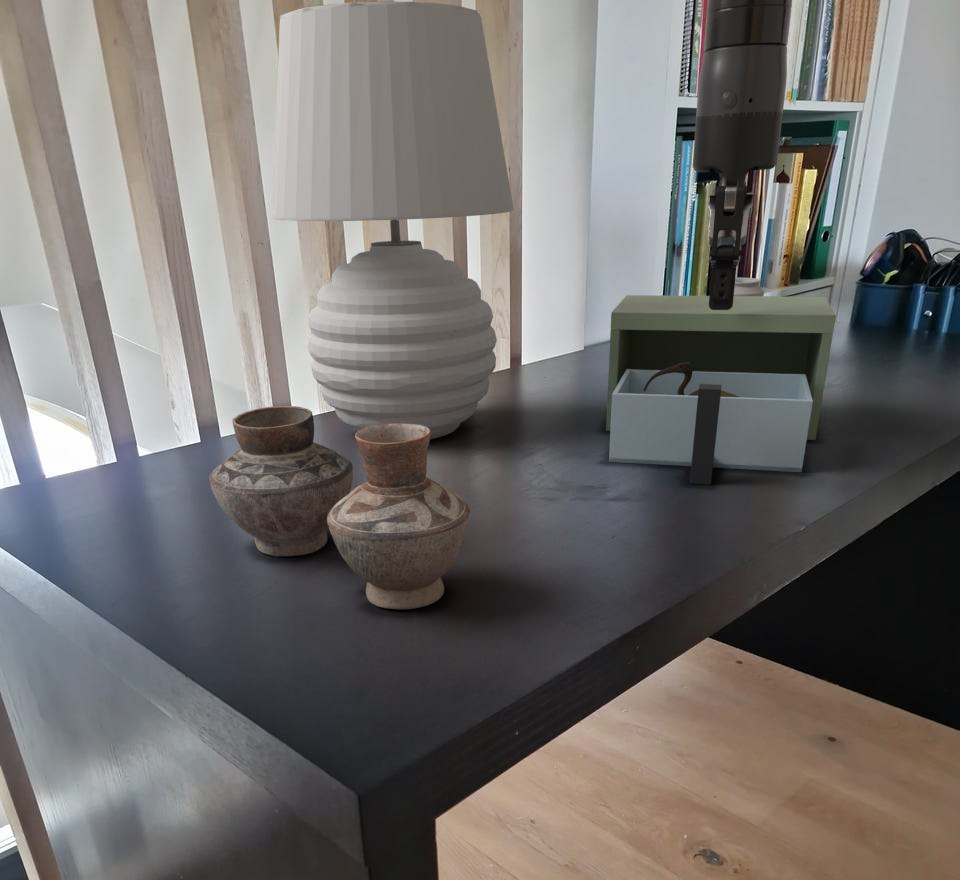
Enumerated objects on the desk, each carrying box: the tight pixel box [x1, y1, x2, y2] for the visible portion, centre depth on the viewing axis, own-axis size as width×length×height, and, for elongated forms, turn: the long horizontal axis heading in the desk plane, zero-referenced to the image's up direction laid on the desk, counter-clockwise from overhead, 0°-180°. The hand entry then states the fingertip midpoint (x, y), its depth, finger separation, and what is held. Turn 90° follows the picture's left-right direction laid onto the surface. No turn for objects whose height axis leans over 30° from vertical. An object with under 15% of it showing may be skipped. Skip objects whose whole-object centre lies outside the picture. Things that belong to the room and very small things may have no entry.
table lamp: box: [272, 1, 514, 441], centre depth 92 cm, size 25×25×40 cm
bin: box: [608, 369, 813, 486], centre depth 87 cm, size 18×19×9 cm
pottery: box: [208, 405, 471, 610], centre depth 64 cm, size 11×25×12 cm, turn 46°
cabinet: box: [605, 294, 837, 441], centre depth 99 cm, size 14×23×13 cm, turn 75°
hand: (721, 303), depth 84 cm, fingers open, 8 cm apart
